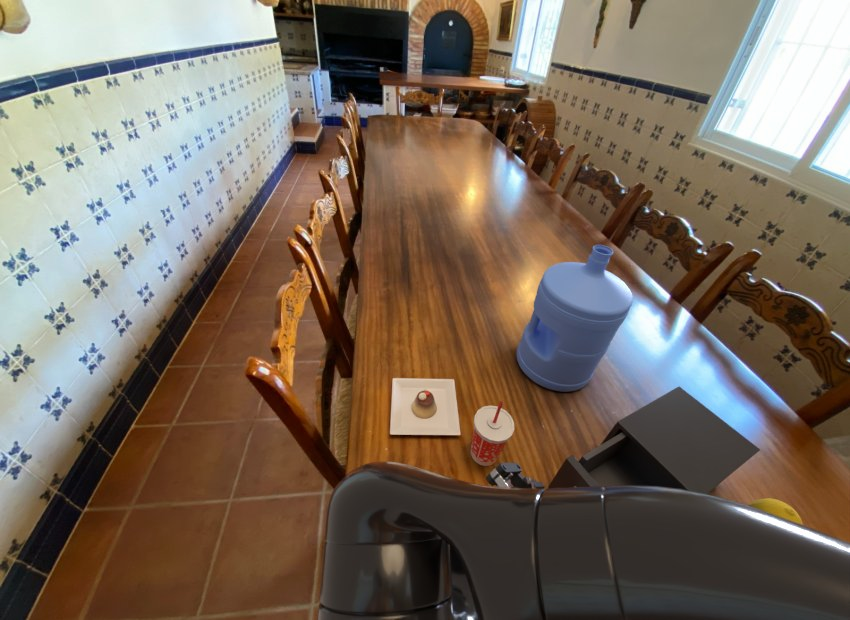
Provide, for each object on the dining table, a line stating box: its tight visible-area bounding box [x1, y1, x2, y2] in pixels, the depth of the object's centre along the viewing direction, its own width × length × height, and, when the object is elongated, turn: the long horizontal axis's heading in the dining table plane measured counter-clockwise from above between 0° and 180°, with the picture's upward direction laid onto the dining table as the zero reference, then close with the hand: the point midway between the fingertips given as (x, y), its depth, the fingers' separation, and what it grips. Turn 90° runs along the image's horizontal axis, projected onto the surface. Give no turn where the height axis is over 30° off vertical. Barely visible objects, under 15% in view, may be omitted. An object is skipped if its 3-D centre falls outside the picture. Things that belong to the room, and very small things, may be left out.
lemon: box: [746, 497, 804, 525], centre depth 50 cm, size 6×6×8 cm
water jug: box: [516, 244, 634, 393], centre depth 67 cm, size 16×16×28 cm
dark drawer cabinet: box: [600, 386, 761, 494], centre depth 56 cm, size 16×13×11 cm
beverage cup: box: [470, 401, 515, 467], centre depth 55 cm, size 6×6×14 cm
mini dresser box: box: [547, 432, 681, 489], centre depth 51 cm, size 19×11×9 cm, turn 118°
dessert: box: [389, 377, 462, 436], centre depth 64 cm, size 12×12×5 cm
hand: (561, 521), depth 44 cm, fingers open, 8 cm apart
